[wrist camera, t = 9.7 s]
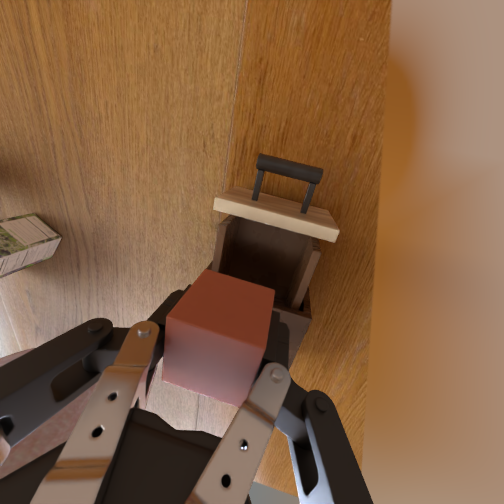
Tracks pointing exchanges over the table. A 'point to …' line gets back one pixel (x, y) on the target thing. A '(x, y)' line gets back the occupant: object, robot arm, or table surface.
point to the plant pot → (44, 430)
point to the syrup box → (25, 243)
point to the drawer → (273, 233)
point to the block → (217, 337)
